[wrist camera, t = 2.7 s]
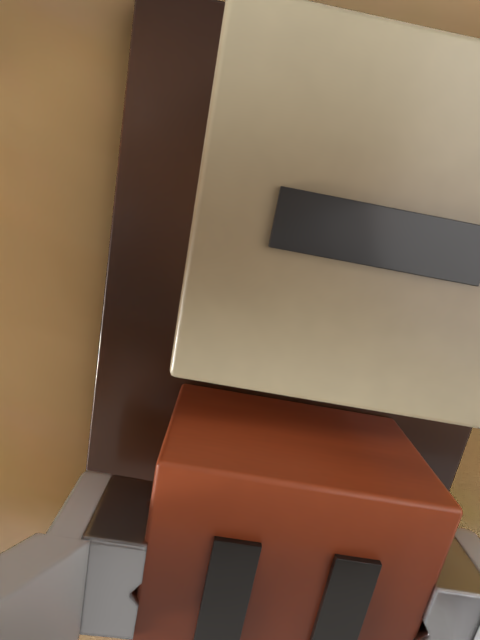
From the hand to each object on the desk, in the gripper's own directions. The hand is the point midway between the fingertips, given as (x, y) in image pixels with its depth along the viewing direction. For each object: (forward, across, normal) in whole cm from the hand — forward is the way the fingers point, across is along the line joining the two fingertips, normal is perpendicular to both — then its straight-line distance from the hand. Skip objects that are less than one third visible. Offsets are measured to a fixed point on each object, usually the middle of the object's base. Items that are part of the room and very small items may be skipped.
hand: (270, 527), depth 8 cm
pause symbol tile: (+1, 0, 0) cm, 1 cm away
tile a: (+1, 0, -6) cm, 6 cm away
